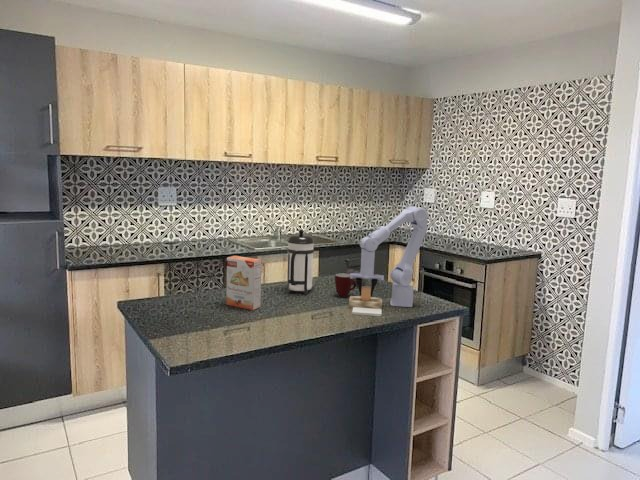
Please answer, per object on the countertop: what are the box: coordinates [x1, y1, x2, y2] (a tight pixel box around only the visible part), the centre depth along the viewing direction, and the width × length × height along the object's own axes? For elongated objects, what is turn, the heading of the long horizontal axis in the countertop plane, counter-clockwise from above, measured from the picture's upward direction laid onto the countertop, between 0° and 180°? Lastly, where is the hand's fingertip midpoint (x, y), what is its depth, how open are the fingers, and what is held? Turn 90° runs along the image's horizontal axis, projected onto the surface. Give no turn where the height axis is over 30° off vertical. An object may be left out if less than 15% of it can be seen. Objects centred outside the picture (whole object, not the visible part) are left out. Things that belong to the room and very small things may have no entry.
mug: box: [334, 272, 357, 298], centre depth 222 cm, size 10×8×10 cm
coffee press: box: [284, 229, 315, 296], centre depth 224 cm, size 17×16×30 cm
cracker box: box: [226, 255, 262, 311], centre depth 199 cm, size 14×6×21 cm, turn 62°
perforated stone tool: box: [345, 268, 366, 286], centre depth 246 cm, size 15×5×7 cm, turn 28°
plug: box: [360, 285, 372, 301], centre depth 207 cm, size 4×4×8 cm
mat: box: [351, 307, 383, 317], centre depth 198 cm, size 12×7×1 cm, turn 83°
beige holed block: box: [348, 295, 383, 309], centre depth 207 cm, size 14×9×3 cm, turn 83°
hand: (365, 295), depth 207 cm, fingers closed on plug, 4 cm apart
